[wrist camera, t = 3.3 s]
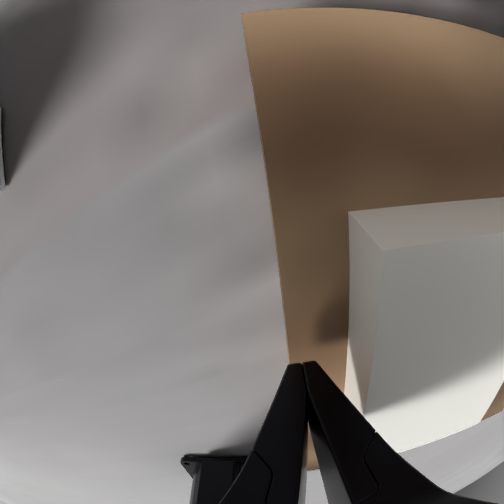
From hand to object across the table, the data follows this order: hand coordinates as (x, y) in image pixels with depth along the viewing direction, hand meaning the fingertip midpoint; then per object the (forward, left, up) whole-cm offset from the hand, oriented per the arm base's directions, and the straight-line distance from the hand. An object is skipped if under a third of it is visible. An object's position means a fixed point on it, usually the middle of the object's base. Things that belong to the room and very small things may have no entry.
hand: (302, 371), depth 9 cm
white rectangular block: (0, -5, -1) cm, 5 cm away
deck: (0, -7, -5) cm, 8 cm away
